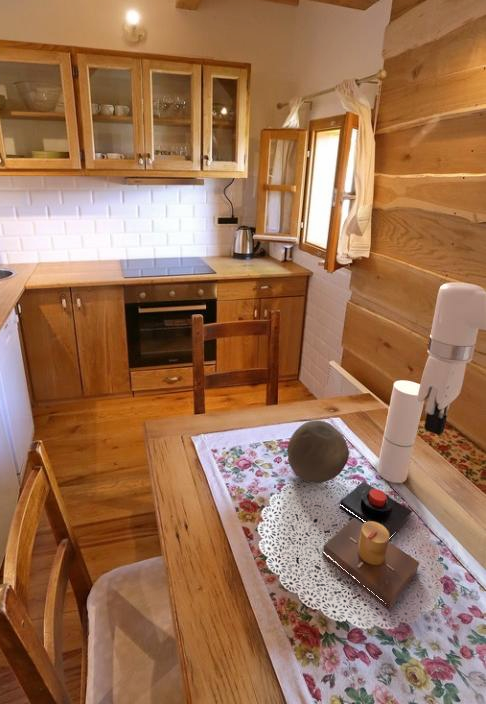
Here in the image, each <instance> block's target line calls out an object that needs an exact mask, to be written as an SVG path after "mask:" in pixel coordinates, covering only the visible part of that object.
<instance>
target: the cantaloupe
mask: <svg viewBox="0 0 486 704" xmlns="http://www.w3.org/2000/svg"><path fill="white" fill-rule="evenodd" d="M286 450H287V451H286V452H287V453H286V454H287V460H288V464H289V467H290V468H291V470H292V471H293V473H294V474H295V475H296V476H297V477H298V478H299V479H301V480H302V481H305V482H307V483H312V484H323V483H325V482H328V481H332V480H333V479H334V478H336V477H338V476H339V475H340V474H341V473H342V472H343V470H344V469H345V467H346V465H347V463H348V461H349V457H350V456H349V455H350V451H349V446H348V443H347V441H346V439H345V437H344V435H343V434H342V433H341V432H340V431H339V430H338V429H337V428H336V427H335V426H334V425H333V424H331V423H328V422H327V421H325V420H319V419H317V420H310V421H306V422H304V423H303V424H302V425H300V426H299V427H298V428H296V430H295V431H294V432H293V434H292V435H291V437H290V439H289V441H288V444H287V449H286Z"/></svg>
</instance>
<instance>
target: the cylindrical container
mask: <svg viewBox="0 0 486 704" xmlns="http://www.w3.org/2000/svg"><path fill="white" fill-rule="evenodd" d="M419 387H420V383H417V382H414V381H411V380H405V379H403V380H396V381H394V383H393V386H392V392H391V396H390V402H389V407H388V412H387V417H386V422H385V427H384V432H383V437H382V442H381V446H380V452H379V457H378V463H377V467H376V472H377V474H378V475H379V476H380V477H381V478H382V479H383V480H385V481H387V482H390V483H394V484H403V483H404V482H406V480H407V478H408V475H409V469H410V465H411V460H412V456H413V452H414V448H415V445H416V444H415V443H416V438H417V435H418V430H419V427H420V422H421V417H422V412H423V409H424V404H425V400H424V401H423V402H418V400H417V396H418V392H419Z"/></svg>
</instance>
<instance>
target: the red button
mask: <svg viewBox="0 0 486 704" xmlns="http://www.w3.org/2000/svg"><path fill="white" fill-rule="evenodd" d="M386 494H387V493H385V492H384V491H383V490H381V489H378V488H375V489H372V490H370V492H369V498H368V499H369V502H370V503H371V504H373V505H374V506H378V507H383V506H384V505H385V503H386V498H387V496H386Z"/></svg>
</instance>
